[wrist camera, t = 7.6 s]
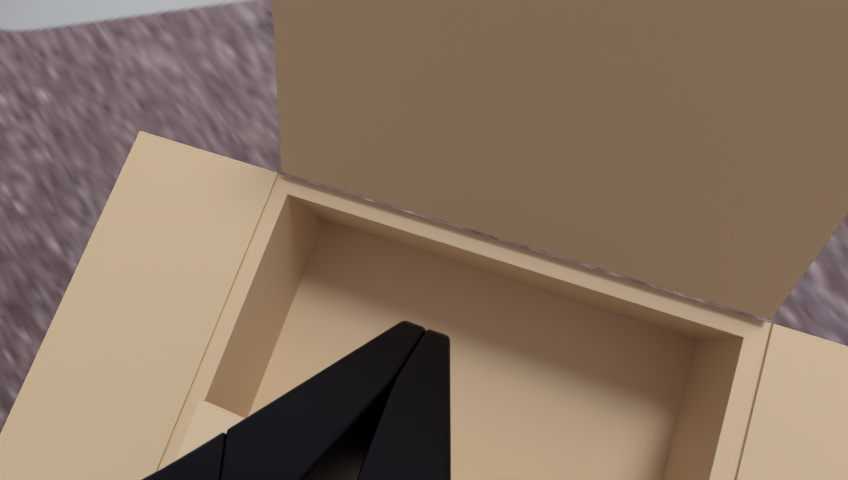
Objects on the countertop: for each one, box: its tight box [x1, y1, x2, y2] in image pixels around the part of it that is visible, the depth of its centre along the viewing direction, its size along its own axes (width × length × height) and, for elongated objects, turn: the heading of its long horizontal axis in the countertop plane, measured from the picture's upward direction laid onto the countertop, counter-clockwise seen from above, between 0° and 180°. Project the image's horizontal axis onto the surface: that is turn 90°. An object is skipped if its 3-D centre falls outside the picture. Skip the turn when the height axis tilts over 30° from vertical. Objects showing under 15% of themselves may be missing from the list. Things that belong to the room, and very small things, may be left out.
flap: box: [272, 0, 848, 320], centre depth 13 cm, size 8×16×1 cm
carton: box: [0, 131, 848, 480], centre depth 16 cm, size 16×28×4 cm, turn 71°
